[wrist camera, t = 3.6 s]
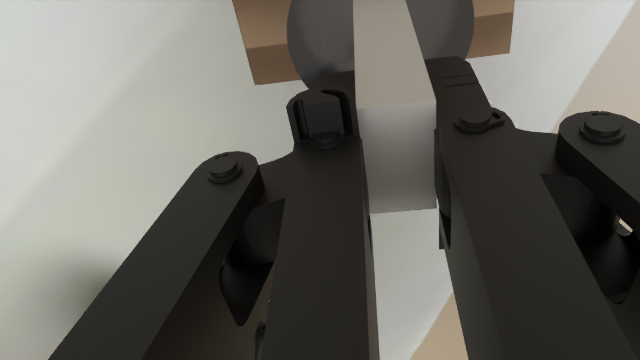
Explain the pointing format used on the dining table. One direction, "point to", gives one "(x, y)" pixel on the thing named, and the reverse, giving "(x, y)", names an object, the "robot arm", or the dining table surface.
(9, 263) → the dining table surface
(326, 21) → the grey lid glass jar
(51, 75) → the dining table surface
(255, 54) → the wooden jar holder
